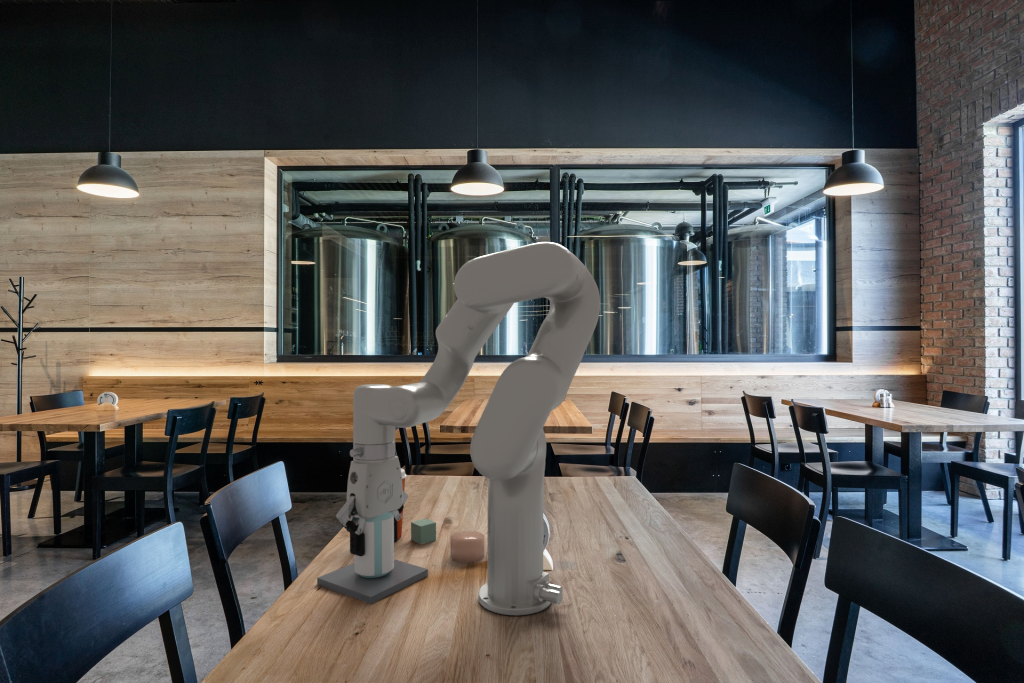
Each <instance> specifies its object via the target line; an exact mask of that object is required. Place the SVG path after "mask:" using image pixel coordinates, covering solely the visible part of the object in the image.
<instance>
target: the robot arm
mask: <svg viewBox="0 0 1024 683" xmlns="http://www.w3.org/2000/svg"><path fill="white" fill-rule="evenodd" d="M453 289H454V294H455V296H456V298H457V299H456V301H454V303H453V305H452V306H451V308H450V309H449V311H448V312H447V313H446V314H445V316H444V318H442V320H441V322H440V323H439V324H438V326H437V327H436V329H435V338H436V340H437V345H438V350H437V353H436V356H435V359H434V361H433V363H432V364H431V366H430V368H429V369H428V370H427V371H426V373H425V374H424V376H423V377H422V379H421V380H420V381H419V382H414V383H408V384H402V385H397V386H392V385H389V384H383V383H382V384H380V383H377V384H376V383H375V384H373V383H371V384H361V385H358V386H356V387H355V389H354V391H353V398H352V400H353V402H352V403H353V406H352V407H353V410H352V411H353V412H352V413H353V416H352V417H353V418H352V420H353V422H352V423H353V424H352V425H353V426H352V428H353V433H352V437H353V438H352V439H353V441H352V442H353V443H352V445H353V447H352V449H350V451H349V456H350V457H351V458H353V460H351V461H350V465H349V466H350V467H349V471H348V478H347V486H346V487H347V488H346V489H347V490H346V502H345V503H344V504H343V506H342V507H341V508H340V509H339V510H338V512H336V516H335V517H336V519H337V520H338V521H339V522H340V523H341V526H342V527H344V528H345V530H346V532H348V533H349V553H350V554H351V555H354V556H355V555H357V556H364V554H365V534H364V533H361V532H362V530H363V527H364V525H365V522H366V519H372V518H375V517H377V516H379V515H382V514H384V513H386V512H393V514H394V544H396V543H398V539H397V521H398V520H399V519H400V514H401V512H402V510H403V511H404V509H405V504H406V503H407V500H408V498H409V495H408V494H407V492H406V491H405V490H404V491H403V488H402V475H401V463H400V460H399V456H398V455H396V428H401V429H402V428H403V429H405V428H412V427H415V426H419V425H421V424H424V423H427V422H428V423H429V422H431V421H433V420H435V419H437V418H438V417H440V416H441V415H442V414H444V412H445V411H446V409H447V408H448V407H449V406H450V404H451V403H452V401H453V400H454V399H455V397H456V396H457V395H458V394H459V392H460V390H461V389H462V388H463V385H464V384H465V382H466V380H467V378H469V377H468V376H469V374H470V372H471V370H472V367H473V366H474V362H475V359H476V357H477V356H478V354H479V353H480V351H481V350H482V348H483V347H484V345H486V343H487V341H488V340H489V338H490V337H491V336H492V334H493V333H494V332H495V331H496V329H497V327H498V326H499V324H501V322H502V321H503V319H504V318H505V317H506V315H507V314H508V312H509V311H510V310H511V308H512V307H513V305H514V304H515V303H521V302H526V301H527V302H528V301H530V300H536V299H541V298H545V299H547V300H549V303H550V306H549V310H548V313H547V315H546V316H545V318H544V320H543V321H542V323H541V325H540V327H539V329H538V332H537V334H536V336H535V339H534V341H533V343H532V345H531V347H530V349H529V351H528V353H527V354H526V356H525V357H519V358H518V359H515V360H514V361H512V362H511V363H510V364H509V365H508V366H506V367H505V369H504V370H503V372H502V373H501V375H500V376H499V378H498V379H497V382H496V384H495V385H494V387H493V389H492V392H491V394H490V396H489V399H488V401H487V403H486V405H485V407H484V410H483V411H482V414H481V417H480V418H479V420H478V423H477V425H476V427H475V430H474V431H473V435H472V437H471V440H470V448H469V450H470V451H469V452H470V457H471V458H470V459H471V461H472V465H473V466H474V468H475V470H476V471H478V473H479V474H480V475H481V476H483V477H485V478H486V479H488V488H487V582H485V583H484V584H483V585H482V586H481V587H480V588H479V589H478V595H477V596H478V602H479V604H480V605H481V606H482V607H483V608H484V609H485V610H488V611H491V612H492V613H495V614H499V615H505V616H526V615H532V614H537V613H539V612H542V611H544V610H546V609H547V608H548V607H549V606H550V605H551V604H554V605H555V604H556V605H558V606H559V605H561V604H562V600H563V586H561V585H559V584H553V583H551V581H550V572H546V571H544V498H545V497H544V492H545V491H544V490H545V488H544V485H545V484H544V483H545V470H546V457H547V439H546V438H547V437H546V433H545V431H544V430H545V429H544V427H545V425H546V423H547V421H548V418H549V416H550V414H551V412H552V411H554V410H556V409H557V408H558V407H559V406H560V405H561V404H562V403H563V402H564V401H565V399H566V397H567V395H568V391H569V389H570V387H571V384H572V382H573V379H574V377H575V375H576V373H577V371H578V369H579V366H580V365H581V362H582V360H583V357H584V355H585V353H586V350H587V349H588V348H587V347H588V346H589V343H590V341H591V339H592V336H593V334H594V331H595V329H596V326H597V324H598V321H599V317H600V311H601V297H600V296H601V295H600V291H599V288H598V285H597V283H596V281H595V279H594V277H593V275H592V274H591V272H590V271H589V269H588V268H587V266H586V265H585V264H584V263H583V262H582V261H581V260H580V259H579V258H578V257H577V256H576V255H575V254H574V253H572V252H571V251H570V250H569V249H568V248H566V247H565V246H563V245H561V244H559V243H556V242H553V241H552V242H551V241H539V242H535V243H529V244H526V245H522V246H518V247H514V248H510V249H506V250H501V251H498V252H493V253H489V254H485V255H482V256H478V257H474V258H472V259H470V260H467V262H465V263H464V264H463V265H462V266H461V267H460V268H459V269H458V271H457V272H456V275H455V276H454V282H453ZM349 516H350V517H349ZM357 518H358V519H359V521H358V524H357V525H356V522H357Z"/></svg>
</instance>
